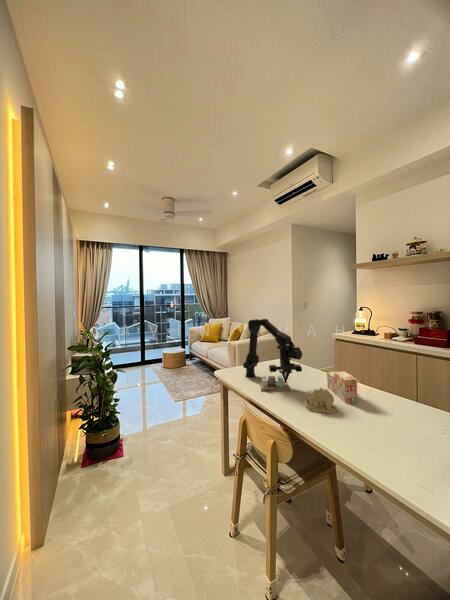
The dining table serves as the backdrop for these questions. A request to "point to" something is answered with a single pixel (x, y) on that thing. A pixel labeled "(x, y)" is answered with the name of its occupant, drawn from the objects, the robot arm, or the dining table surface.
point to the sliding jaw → (280, 381)
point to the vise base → (266, 387)
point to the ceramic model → (321, 401)
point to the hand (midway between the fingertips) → (285, 382)
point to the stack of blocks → (343, 386)
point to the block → (271, 381)
